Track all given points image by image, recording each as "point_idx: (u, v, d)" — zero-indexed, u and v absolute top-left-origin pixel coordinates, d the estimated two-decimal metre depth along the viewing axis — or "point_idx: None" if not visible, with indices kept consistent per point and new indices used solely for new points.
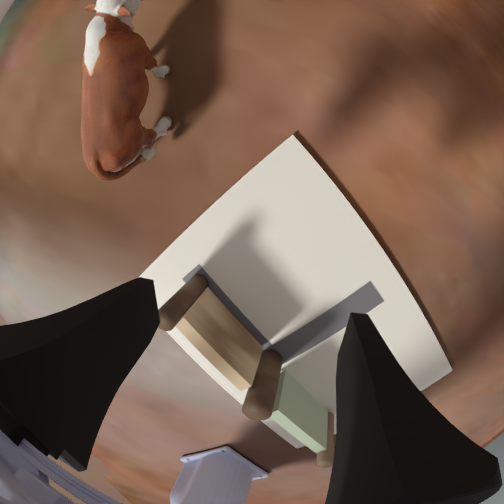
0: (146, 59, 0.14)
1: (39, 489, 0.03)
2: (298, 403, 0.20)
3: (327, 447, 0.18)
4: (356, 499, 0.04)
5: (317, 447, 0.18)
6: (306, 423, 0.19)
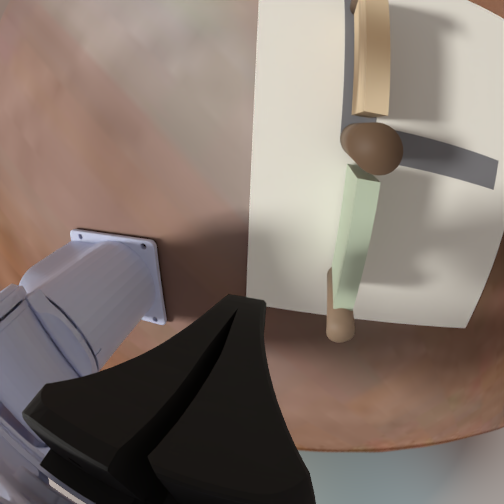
0: None
1: (39, 489, 0.03)
2: None
3: (352, 308, 0.14)
4: None
5: (348, 297, 0.13)
6: None
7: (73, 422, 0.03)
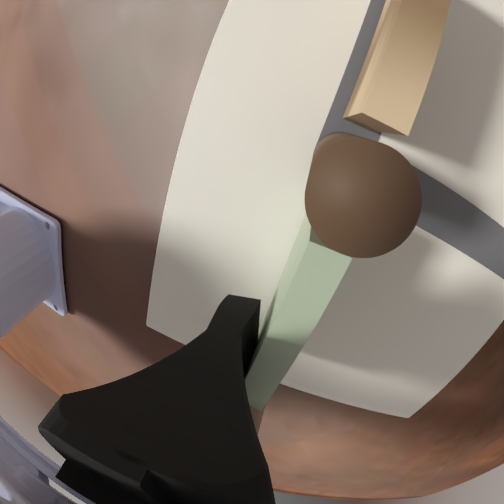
0: None
1: (39, 489, 0.03)
2: None
3: (262, 405, 0.09)
4: None
5: (256, 397, 0.09)
6: None
7: (97, 436, 0.03)
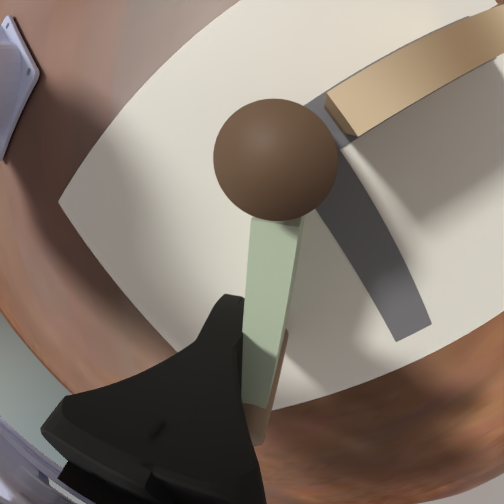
0: None
1: (39, 489, 0.03)
2: None
3: (267, 403, 0.09)
4: None
5: (256, 394, 0.08)
6: (284, 324, 0.08)
7: (101, 437, 0.03)
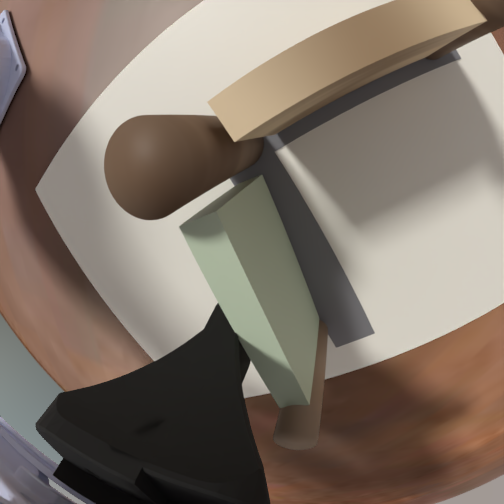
0: None
1: (39, 489, 0.03)
2: (273, 252, 0.09)
3: (310, 399, 0.08)
4: None
5: (289, 392, 0.08)
6: (281, 312, 0.08)
7: (93, 434, 0.03)
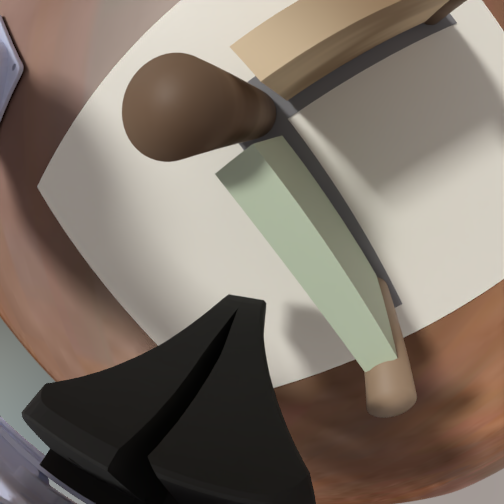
0: None
1: (39, 489, 0.03)
2: (317, 200, 0.08)
3: (396, 352, 0.07)
4: None
5: (374, 347, 0.07)
6: (344, 255, 0.07)
7: (73, 422, 0.03)
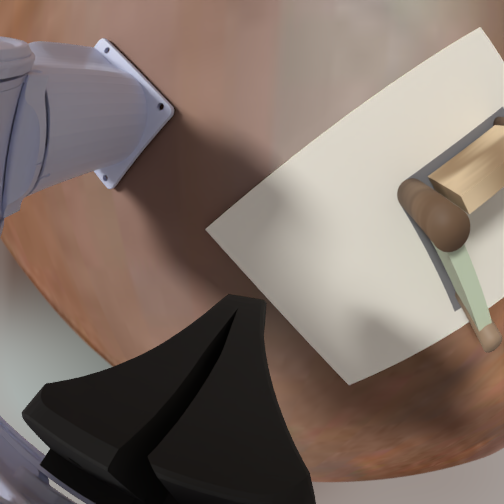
0: None
1: (39, 489, 0.03)
2: None
3: (490, 319, 0.12)
4: None
5: (484, 318, 0.12)
6: None
7: (73, 421, 0.03)
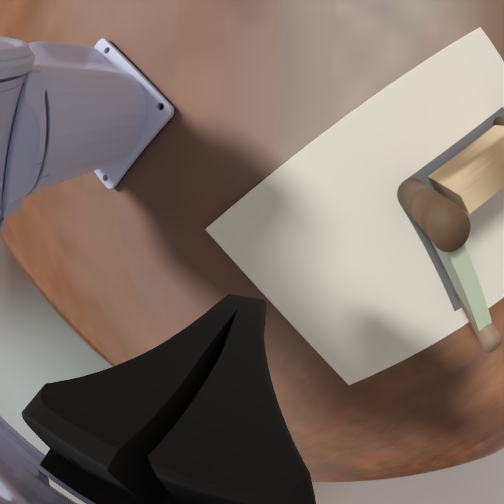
0: None
1: (39, 489, 0.03)
2: None
3: (490, 319, 0.12)
4: None
5: (484, 318, 0.12)
6: None
7: (73, 421, 0.03)
